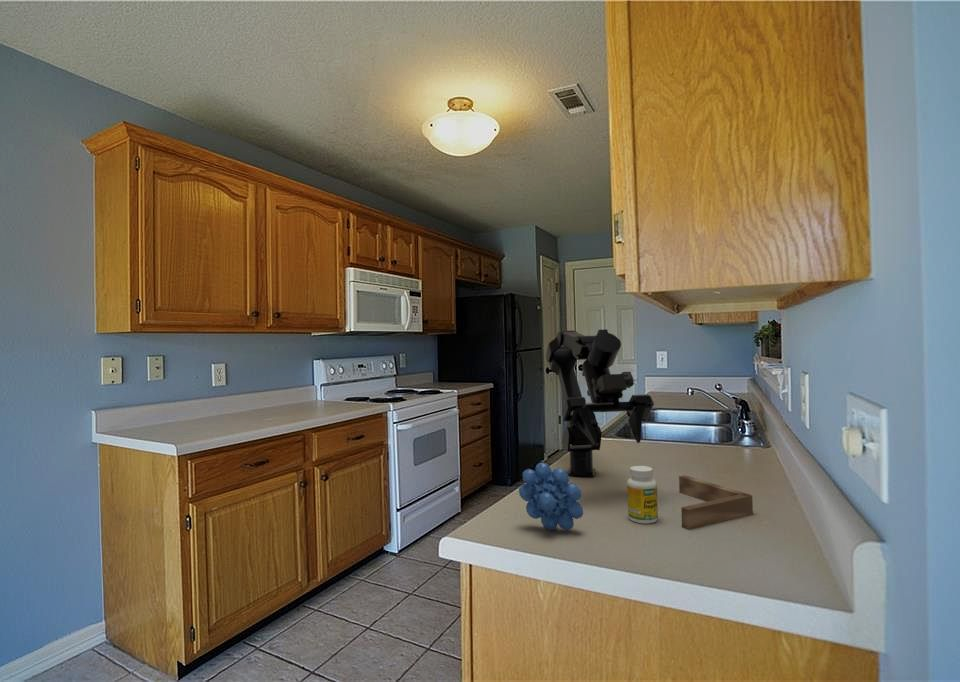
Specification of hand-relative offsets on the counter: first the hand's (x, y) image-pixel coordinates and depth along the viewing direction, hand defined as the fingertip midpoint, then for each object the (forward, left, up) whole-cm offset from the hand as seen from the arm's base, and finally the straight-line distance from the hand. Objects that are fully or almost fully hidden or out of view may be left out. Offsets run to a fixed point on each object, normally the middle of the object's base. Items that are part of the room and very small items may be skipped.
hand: (617, 443), depth 100 cm
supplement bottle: (+7, +4, -13) cm, 15 cm away
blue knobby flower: (+17, -12, -13) cm, 24 cm away
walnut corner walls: (-1, +13, -13) cm, 18 cm away
